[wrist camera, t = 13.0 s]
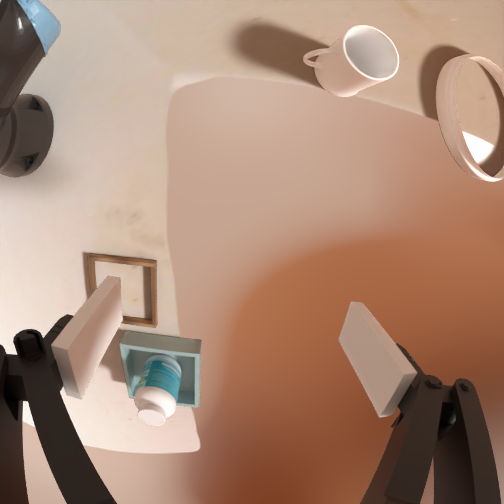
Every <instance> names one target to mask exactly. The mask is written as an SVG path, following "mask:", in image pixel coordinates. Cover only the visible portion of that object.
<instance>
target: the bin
mask: <svg viewBox="0 0 504 504" xmlns="http://www.w3.org/2000/svg"><path fill="white" fill-rule="evenodd" d="M201 343H202V340H198V339H187V338H179V337H170V336H162V335H154V334H146V333H139V332H133V331H125V333H124V335H123V337H122V339H121V341H120V343H119V345H120V351H121V357H122V363H123V369H124V375H125V380H126V385H127V390H128V395H129V398H132V399H134V396H135V392H136V389H137V386H138V383H139V380H140V377H141V374H142V371H143V368H144V365H145V362H146V361H147V359H148V358H150V357H151V356H154V355H166V356H169V357H171V358H173V359H174V360H175V361H177V362H178V364H179V365H180V367H181V372H182V373H181V380H180V386H179V391H178V397H177V404H176V405H178V406H187V407H197V408H198V407H199V399H200V372H201Z"/></svg>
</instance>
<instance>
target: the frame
mask: <svg viewBox="0 0 504 504" xmlns="http://www.w3.org/2000/svg"><path fill="white" fill-rule="evenodd" d="M87 257H88V270H89V281H90V290H91V295H92V294H93V292H94V291H95V290H96V289H97V286H96V276H95V263H94V261H102V262H111V263H119V264H128V265H137V266H147V267H151V302H152V320H148V319H140V318H133V317H126V316H122V317H123V321H122V322H121V323H124V324H131V325H138V326H145V327H152V328H156V326H157V324H158V323H157V278H156V267H157V260H147V259H137V258H127V257H118V256H109V255H100V254H90V255H89V256H87Z"/></svg>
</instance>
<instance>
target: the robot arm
mask: <svg viewBox="0 0 504 504" xmlns="http://www.w3.org/2000/svg"><path fill="white" fill-rule="evenodd" d="M60 31H61V25H60V22H59V21H58V19H57V18H56V17H55V16H54V15H53V14H52V13H51V12H50V11H49V10H48V9H47V8H46V7H45V6H44V5H43V4H42V3H41V2H40V1H38V0H0V174H3V175H6V176H9V177H20V176H25V175H28V174H30V173H32V172H33V171H35V170H36V169H37V168H38V167H39V166H40V165H41V163H42V162H43V160H44V159H45V157H46V155H47V153H48V151H49V148H50V145H51V142H52V137H53V126H54V125H53V116H52V112H51V109H50V107H49V105H48V103H47V102H46V101H45V100H44V99H43V98H42V97H40V96H37V95H32V94H21V95H19V94H20V92H21V90H22V89H23V87H24V86H25V84H26V82H27V81H28V79H29V78H30V76H31V74H32V73H33V71H34V70H35V68H36V67H37V66H38V64H39V63H40V61H41V60H42V58H43V57H45V56H46V55H47V53H48V50H49V49H50V47H51V46H52V44H53V43H54V42H55V40H56V39H57V38H58V36H59V34H60ZM122 321H123V317H122V302H121V280H120V277H113V276H107V277H106V279H105V280H104V281H103V282H102V283H101V284H100V285H99V287H98V288H97V289H96V290H95V291H94V292H93V294H92V295H91V296H90V297H89V298H88V300H87V301H86V302H85V303H84V304H83V306H82V307H81V308H80V309H79V310H78V312H77V313H76V314H75V315H74V316H72V315H68V314H67V315H65V316H64V317H62V318H60V319H59V320H58V321H57V322H56V323H55V325H54V326H53V327H52V328H51V329H50V331H49V332H48V333H47V334H46V336H45V337H44V338H43V337H42V335H41V333H40V332H39V331H37V330H33V329H26V330H23V331H20V332H19V333H17V334H16V336H15V337H14V341H13V342H14V345H15V348H16V351H17V354H18V355H12V354H6V352H5V349H4V347H3V346H2V345H0V504H29V502H28V495H27V488H26V480H25V471H24V459H23V438H22V412H23V401H28V403H29V407H30V410H31V414H32V417H33V421H34V424H35V427H36V431H37V434H38V437H39V440H40V442H41V445H42V448H43V451H44V453H45V456H46V459H47V461H48V464H49V466H50V469H51V471H52V473H53V475H54V478H55V480H56V482H57V484H58V486H59V489H60V491H61V493H62V495H63V497H64V499H65V501H66V503H67V504H117V503H116V501H115V500H114V498H113V497H112V495H111V494H110V492H109V491H108V489H107V488H106V486H105V485H104V483H103V481H102V479H101V478H100V476H99V474H98V473H97V471H96V469H95V467H94V465H93V464H92V462H91V460H90V458H89V456H88V454H87V453H86V451H85V449H84V447H83V445H82V443H81V440H80V438H79V436H78V434H77V432H76V430H75V428H74V426H73V423H72V421H71V419H70V416H69V414H68V412H67V409H66V407H65V404H64V402H63V399H62V397H61V394H60V391H61V389H62V387H63V386H64V389H65V392H66V395H68V396H71V397H75V398H78V399H82V398H83V395H84V393H85V391H86V389H87V387H88V385H89V383H90V381H91V379H92V377H93V375H94V373H95V371H96V369H97V367H98V365H99V363H100V361H101V359H102V357H103V356H104V354H105V352H106V350H107V348H108V346H109V344H110V342H111V341H112V339H113V337H114V335H115V333H116V331H117V330H118V328H119V326H120V324H121V322H122ZM339 342H340V344H341V346H342V348H343V349H344V351H345V353H346V355H347V357H348V359H349V361H350V362H351V364H352V366H353V368H354V370H355V372H356V374H357V376H358V377H359V379H360V381H361V383H362V385H363V387H364V389H365V391H366V392H367V395H368V397H369V398H370V400H371V402H372V404H373V406H374V408H375V410H376V412H377V414H378V416H379V417H384V416H390V415H393V413H394V411H395V410H396V408H397V407H398V408H399V409H400V411H401V413H400V414H399V415H398V417H397V418H396V420H395V421H394V423H393V425H392V426H391V427H394V428H393V431H392V434H391V437H390V439H389V442H388V444H387V447H386V449H385V452H384V454H383V456H382V459H381V461H380V464H379V466H378V468H377V470H376V472H375V474H374V477H373V479H372V481H371V483H370V485H369V487H368V489H367V491H366V493H365V495H364V497H363V499H362V501H361V503H360V504H420V501H421V498H422V495H423V492H424V488H425V485H426V481H427V477H428V473H429V470H430V466H431V461H432V457H433V460H434V504H501V498H500V490H499V482H498V476H497V470H496V465H495V460H494V455H493V450H492V445H491V441H490V437H489V433H488V429H487V425H486V422H485V418H484V414H483V411H482V408H481V405H480V401H479V398H478V395H477V392H476V389H475V387H474V385H473V384H472V383H471V382H470V381H468V380H467V379H462V378H460V379H457V380H456V381H455V383H454V385H453V386H445V385H443V384H442V382H441V381H440V380H439V379H438V378H436V377H434V376H431V375H425V374H424V373H423V371H422V370H421V369H420V367H419V366H418V365H417V364H416V362H415V361H413V358H412V357H411V356H409V353H408V352H407V351H406V350H405V348H403V347H402V346H400V345H399V344H395V343H394V341H393V340H392V339H391V338H390V336H389V335H388V334H387V333H386V331H385V330H384V329H383V327H382V326H381V325H380V324H379V322H378V321H377V320H376V319H375V318H374V316H373V315H372V314H371V313H370V311H369V310H368V309H367V308H366V307H365V305H364V304H363V303H362V302H351V303H350V306H349V310H348V313H347V316H346V319H345V322H344V325H343V328H342V331H341V334H340V337H339Z"/></svg>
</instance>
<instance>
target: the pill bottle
mask: <svg viewBox="0 0 504 504" xmlns="http://www.w3.org/2000/svg"><path fill="white" fill-rule="evenodd" d="M181 373H182V372H181V367H180V365H179V364H178V362H177V361H175V360H174V359H173V358H171V357H169V356H166V355H154V356H151V357H150V358H148V359H147V361H146V362H145V365H144V368H143V371H142V374H141V377H140V380H139V383H138V386H137V389H136V392H135V396H134V402H135V405H136V407H137V408H138V409H139V411H138V417H139V419H140V420H141V421H142V422H144V423H146V424H148V425H151V426H161V425H163V424H164V423H165V420H166V418H167V417H169V416H171V415H172V414H173V413H174V411H175V409H176V404H177V397H178V391H179V386H180V380H181Z"/></svg>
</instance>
